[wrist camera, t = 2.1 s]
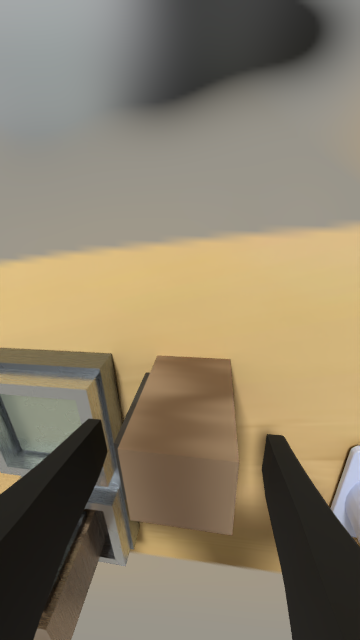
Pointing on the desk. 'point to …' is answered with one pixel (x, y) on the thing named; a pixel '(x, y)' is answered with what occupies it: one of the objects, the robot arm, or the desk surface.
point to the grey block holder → (46, 435)
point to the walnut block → (181, 446)
